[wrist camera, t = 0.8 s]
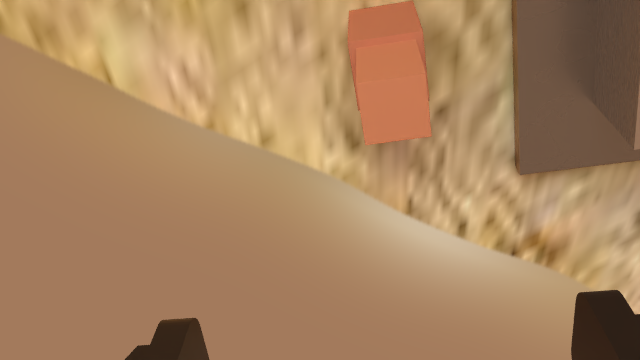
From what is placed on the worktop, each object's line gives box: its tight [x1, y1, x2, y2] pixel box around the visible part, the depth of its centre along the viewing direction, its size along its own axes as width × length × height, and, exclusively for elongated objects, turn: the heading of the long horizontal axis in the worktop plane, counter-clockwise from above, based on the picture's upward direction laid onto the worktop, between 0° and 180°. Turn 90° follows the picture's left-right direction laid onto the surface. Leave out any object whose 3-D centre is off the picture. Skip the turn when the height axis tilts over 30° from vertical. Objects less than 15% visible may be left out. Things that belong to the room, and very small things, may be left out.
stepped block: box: [348, 1, 431, 145], centre depth 25 cm, size 3×3×9 cm
